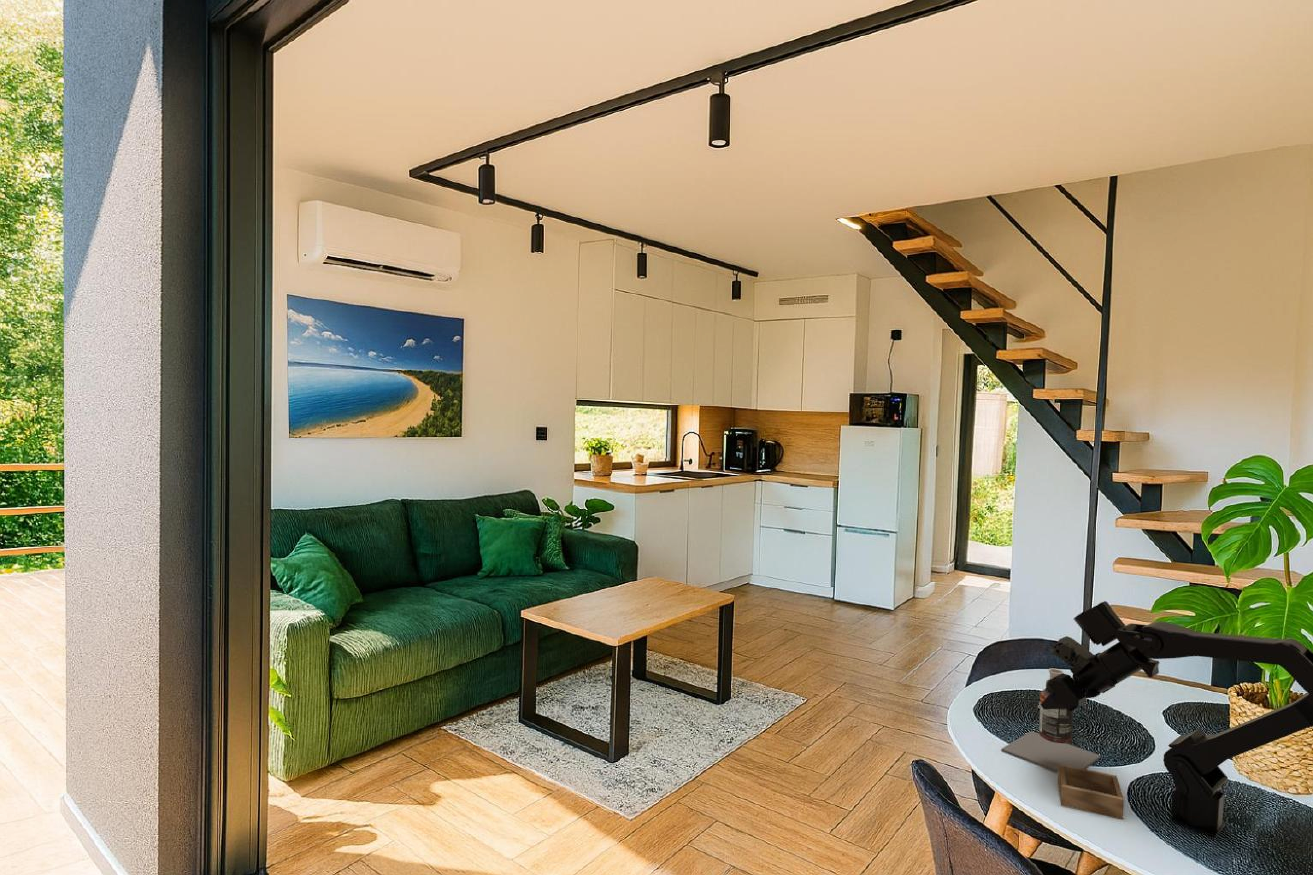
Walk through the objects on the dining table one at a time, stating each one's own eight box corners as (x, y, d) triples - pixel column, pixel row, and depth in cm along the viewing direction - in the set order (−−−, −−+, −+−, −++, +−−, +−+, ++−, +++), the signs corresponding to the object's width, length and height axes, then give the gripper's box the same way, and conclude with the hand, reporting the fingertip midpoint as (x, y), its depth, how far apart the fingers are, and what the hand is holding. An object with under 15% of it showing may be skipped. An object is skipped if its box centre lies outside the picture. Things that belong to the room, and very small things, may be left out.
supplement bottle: (1051, 729, 151) (1054, 675, 150) (1078, 741, 145) (1081, 685, 145) (1031, 733, 148) (1034, 679, 148) (1058, 746, 143) (1061, 689, 142)
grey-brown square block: (1100, 757, 152) (1100, 755, 152) (1072, 778, 143) (1073, 775, 143) (1030, 733, 163) (1031, 731, 163) (1001, 750, 154) (1001, 748, 154)
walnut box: (1115, 793, 138) (1116, 775, 138) (1122, 819, 129) (1124, 799, 129) (1057, 781, 142) (1058, 763, 142) (1060, 805, 133) (1061, 786, 133)
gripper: (1101, 620, 149) (1042, 658, 158) (1061, 636, 137) (1000, 676, 146) (1143, 670, 143) (1079, 706, 152) (1105, 691, 131) (1038, 729, 140)
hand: (1049, 703), depth 148 cm, fingers closed on supplement bottle, 6 cm apart
